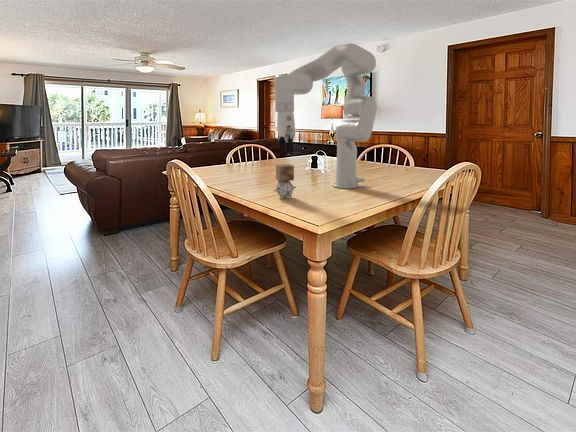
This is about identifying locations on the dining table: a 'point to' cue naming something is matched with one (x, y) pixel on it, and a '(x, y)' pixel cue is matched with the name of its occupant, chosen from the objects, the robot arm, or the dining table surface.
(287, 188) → the grey spiked ball
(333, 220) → the dining table surface
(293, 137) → the robot arm
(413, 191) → the dining table surface
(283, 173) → the walnut cube
